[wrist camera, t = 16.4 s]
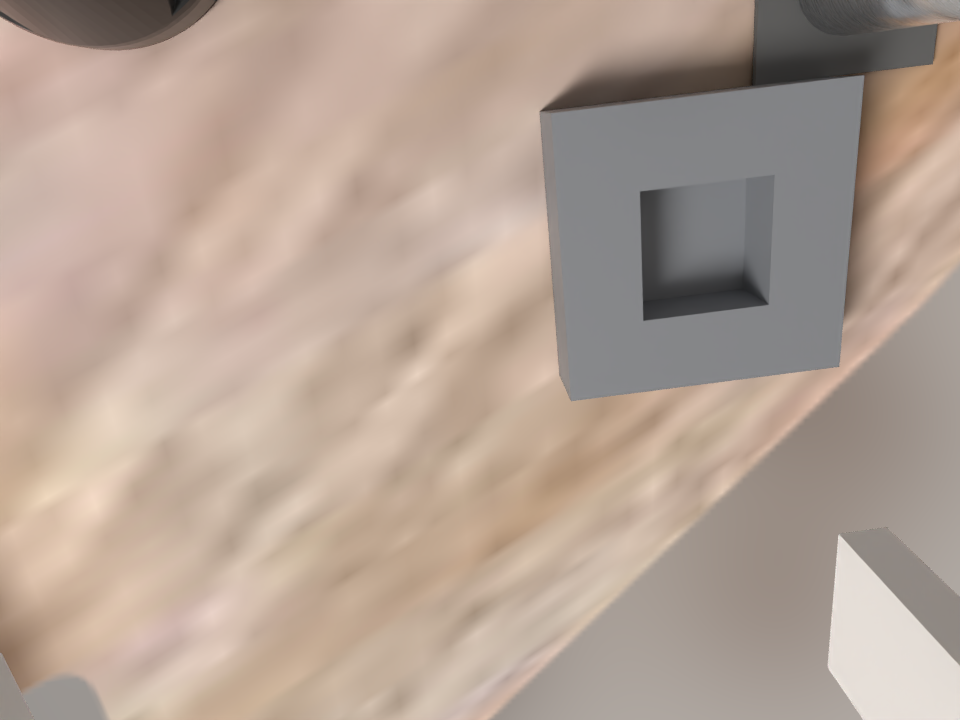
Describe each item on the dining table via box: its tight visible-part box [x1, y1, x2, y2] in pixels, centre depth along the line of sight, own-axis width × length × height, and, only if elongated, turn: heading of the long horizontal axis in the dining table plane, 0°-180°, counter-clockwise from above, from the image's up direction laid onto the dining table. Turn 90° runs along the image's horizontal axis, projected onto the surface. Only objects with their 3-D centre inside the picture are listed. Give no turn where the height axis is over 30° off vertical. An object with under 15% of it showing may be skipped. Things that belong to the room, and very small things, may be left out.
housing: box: [540, 75, 864, 401], centre depth 39 cm, size 16×16×4 cm
